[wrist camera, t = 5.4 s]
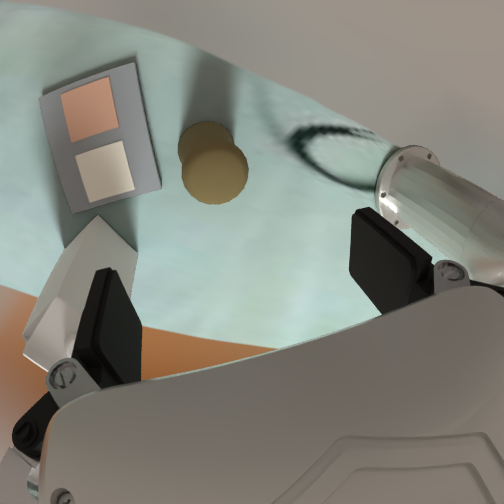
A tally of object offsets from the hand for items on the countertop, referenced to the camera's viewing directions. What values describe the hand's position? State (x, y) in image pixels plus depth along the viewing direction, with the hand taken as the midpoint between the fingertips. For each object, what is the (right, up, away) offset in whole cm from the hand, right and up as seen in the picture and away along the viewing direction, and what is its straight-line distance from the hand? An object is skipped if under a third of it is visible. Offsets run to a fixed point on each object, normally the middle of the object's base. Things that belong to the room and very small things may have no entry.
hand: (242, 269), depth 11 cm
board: (-16, +12, +16) cm, 25 cm away
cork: (-5, +12, +19) cm, 23 cm away
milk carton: (-18, +1, +22) cm, 29 cm away
